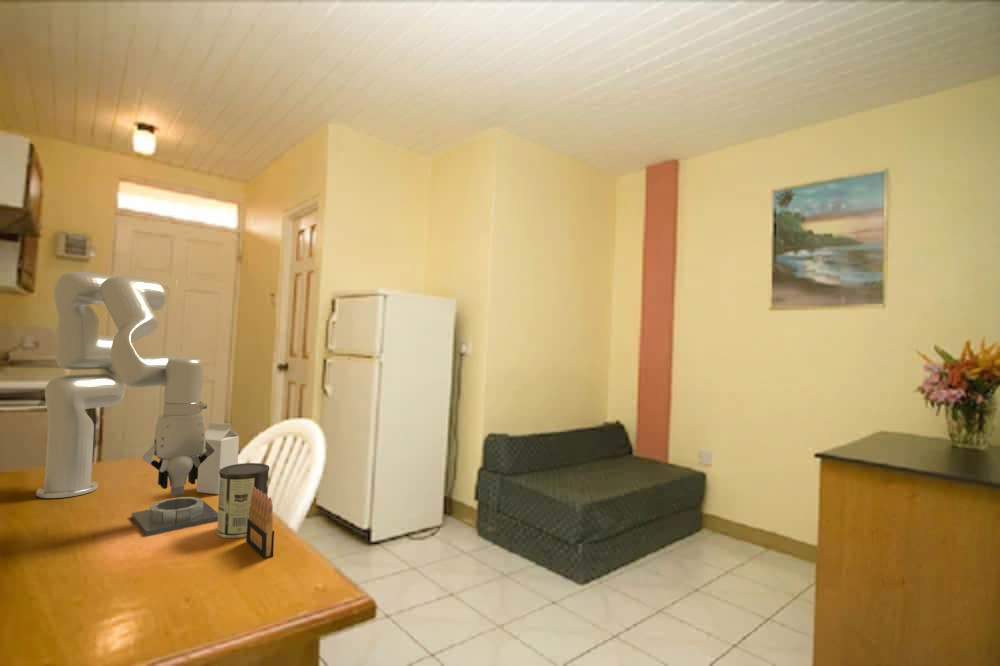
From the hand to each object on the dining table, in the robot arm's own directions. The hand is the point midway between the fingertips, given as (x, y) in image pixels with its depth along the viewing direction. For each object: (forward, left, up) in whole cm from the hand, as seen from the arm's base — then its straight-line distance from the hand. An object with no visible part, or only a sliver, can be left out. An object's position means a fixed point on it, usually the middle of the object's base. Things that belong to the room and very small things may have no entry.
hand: (177, 484), depth 118 cm
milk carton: (-17, +14, -8) cm, 24 cm away
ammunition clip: (+30, +8, -8) cm, 32 cm away
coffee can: (+17, +9, -8) cm, 21 cm away
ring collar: (0, 0, -8) cm, 8 cm away
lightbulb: (0, 0, -3) cm, 3 cm away
